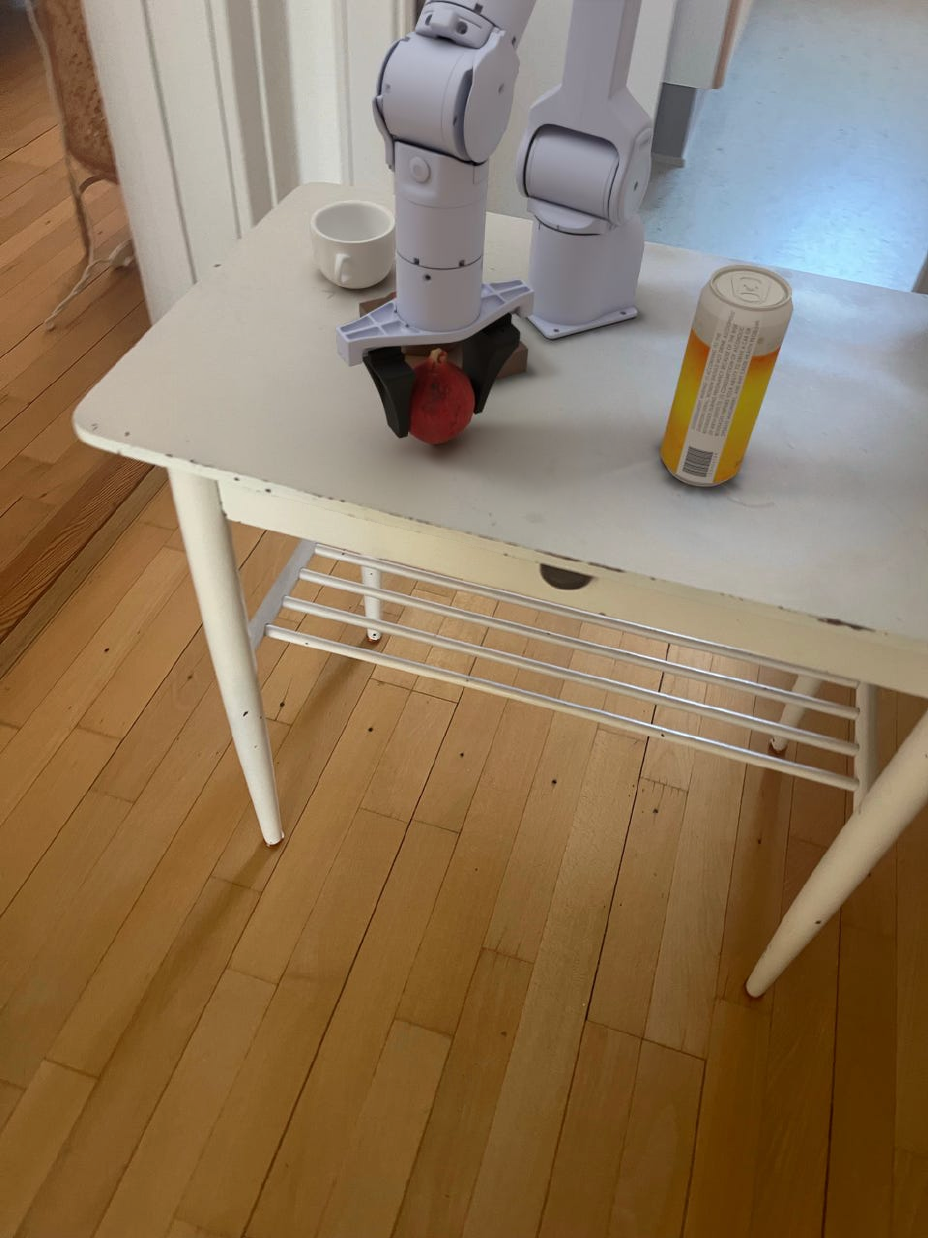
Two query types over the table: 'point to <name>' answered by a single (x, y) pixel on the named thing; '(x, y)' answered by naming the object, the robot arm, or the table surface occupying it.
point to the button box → (448, 347)
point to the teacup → (354, 242)
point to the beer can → (725, 372)
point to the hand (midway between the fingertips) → (435, 418)
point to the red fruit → (439, 400)
